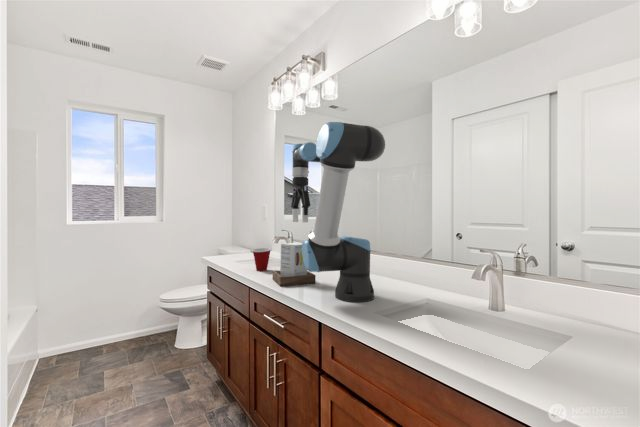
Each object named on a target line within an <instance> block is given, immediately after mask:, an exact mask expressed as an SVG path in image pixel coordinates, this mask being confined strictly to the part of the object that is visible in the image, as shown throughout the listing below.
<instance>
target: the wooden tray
mask: <svg viewBox="0 0 640 427" xmlns="http://www.w3.org/2000/svg"><path fill="white" fill-rule="evenodd" d="M272 280H273V281H274V282H275V283H276V285H278V286H279V287H281V288H282V287H289V286H290V287H291V286H294V287H295V286H303V285H316V274H314V273H313V272H310V271H308V270H307V275H301V276H285V277H282V276H281V275H280V270H273V271H272Z"/></svg>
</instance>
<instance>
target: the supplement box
mask: <svg viewBox="0 0 640 427" xmlns="http://www.w3.org/2000/svg"><path fill="white" fill-rule="evenodd" d="M302 243H303V242H302ZM302 243H300V242H290V243H289V242H287V243H281V244H280V266H279V267H280V270H279V271H280V275H281V276H282V277H285V276H301V275H307V271H308V270H307V269H306V267H305V265H304V261H303V256H302Z"/></svg>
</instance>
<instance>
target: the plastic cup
mask: <svg viewBox="0 0 640 427" xmlns="http://www.w3.org/2000/svg"><path fill="white" fill-rule="evenodd" d="M271 251H272V248H270V247H263V248H262V247H261V248H255V249H252V250H251V252H252V253H253V258H254V264H255V270H256V272H266V271H267V270H268V266H269V261H270V260H269V259H270V254H271Z"/></svg>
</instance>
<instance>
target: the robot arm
mask: <svg viewBox="0 0 640 427" xmlns="http://www.w3.org/2000/svg"><path fill="white" fill-rule="evenodd" d="M385 140H386V139H385V137H384V135H383V133H382V132H381V131H380V130H378V129H377V128H376V127H373V126H370V125H363V124H355V123H347V122H342V121H328V122H326V123H325V124H323V126H322V127H321V129H320V131H319V132H318V135H317V139H316V143H314V142H312V141H310V142H309V141H308V142H305V143H295V144H294V145H293V146H292V151H291V152H292V168H291V170H292V172H291V173H292V182H291V183H292V186H293V187H295V188H293V192H292V199H291V205H290V207H291V210H292V223H298V222H299V210H300V208H299V205H300V202H301V223H309V208H310V207H311V201H310V195H309V187H308V186H309V173H310V171H309V163H310V162H311V163H319V164H321V167H323V169H322V170H323V171H322V177H321V182H320V189H319V195H318V196H319V197H318V201H317V209H316V216H315V223H314V228H313V231H311V232H310V233H309V235H308V239H305V240H303V241H302V256H303V261H304V265H305V267H306V269H307V271H309V272H311V273H313V272H314V273H321V272H322V273H323V272H337V271H338V272H339V278H338V281H337V284H336V287H335V289H334V290H335V291H334V296H335V298H336V299H338V300H341V301H343V302H344V301H346V302H351V303H353V302H354V303H355V302H356V303H361V302H362V303H363V302H365V303H366V302H369V301H372V300H374V299H375V289H374V287H373V283H372V280H371V243H370V240H368V239H365V238H360V237H352V236H347V235H346V236H345V235H341V236H339V234H338V233H339V227H340V223H341V222H340V221H341V216H342V212H343V206H344V201H345V196H346V190H347V185H348V179H349V174H350V172H351V171H352V170H354V169H355V167H356V163H357V162H372V161H376V160H377V159H380V158H381V156H382V155H383V154H384V151H385V149H386V141H385Z"/></svg>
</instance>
